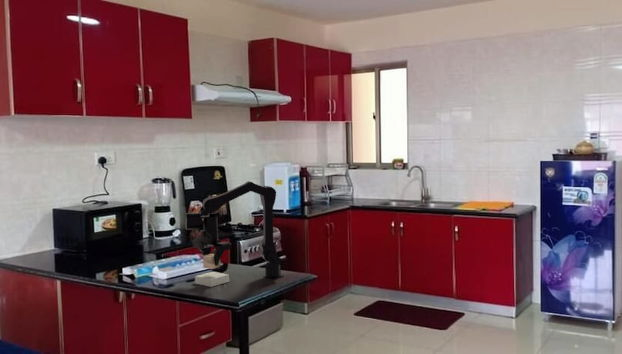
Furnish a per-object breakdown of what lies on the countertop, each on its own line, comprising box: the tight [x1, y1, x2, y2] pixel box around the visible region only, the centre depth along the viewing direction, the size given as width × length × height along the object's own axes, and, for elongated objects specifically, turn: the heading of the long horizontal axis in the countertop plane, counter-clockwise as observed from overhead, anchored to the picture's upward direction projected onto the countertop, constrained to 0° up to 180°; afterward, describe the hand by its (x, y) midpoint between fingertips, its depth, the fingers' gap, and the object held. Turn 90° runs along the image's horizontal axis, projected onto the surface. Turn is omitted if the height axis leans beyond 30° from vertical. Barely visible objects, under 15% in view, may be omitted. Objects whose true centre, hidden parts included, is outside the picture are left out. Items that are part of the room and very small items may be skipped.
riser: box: [194, 271, 230, 288], centre depth 243 cm, size 10×10×3 cm
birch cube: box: [202, 253, 221, 270], centre depth 242 cm, size 5×5×5 cm
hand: (211, 264), depth 243 cm, fingers closed on birch cube, 5 cm apart
